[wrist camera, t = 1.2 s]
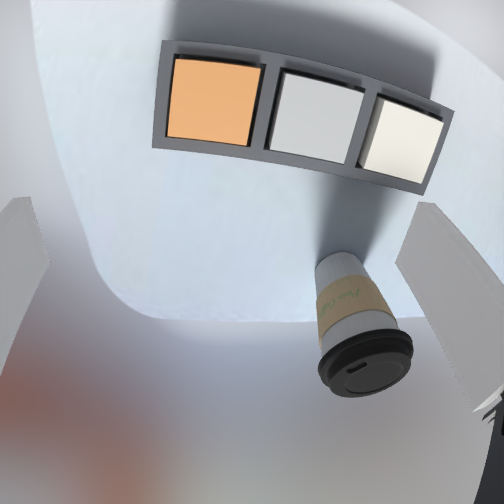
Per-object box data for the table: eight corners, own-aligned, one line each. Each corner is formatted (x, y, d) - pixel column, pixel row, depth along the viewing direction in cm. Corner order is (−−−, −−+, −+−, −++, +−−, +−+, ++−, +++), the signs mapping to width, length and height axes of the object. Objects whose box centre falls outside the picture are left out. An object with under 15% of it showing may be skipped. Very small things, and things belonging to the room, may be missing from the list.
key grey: (355, 89, 22) (364, 93, 21) (337, 155, 26) (343, 163, 24) (282, 71, 22) (286, 73, 20) (268, 141, 25) (269, 149, 23)
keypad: (430, 99, 25) (454, 111, 22) (404, 175, 30) (423, 195, 27) (174, 40, 22) (162, 40, 19) (164, 132, 28) (151, 147, 24)
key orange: (259, 67, 21) (260, 69, 20) (246, 138, 25) (246, 145, 23) (181, 57, 21) (175, 59, 19) (172, 129, 24) (167, 136, 23)
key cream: (432, 116, 23) (443, 122, 22) (411, 174, 27) (421, 183, 25) (375, 95, 22) (384, 100, 21) (356, 159, 26) (363, 168, 24)
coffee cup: (321, 229, 34) (357, 341, 22) (388, 251, 36) (437, 351, 24) (288, 290, 40) (303, 398, 28) (351, 304, 42) (379, 402, 30)
